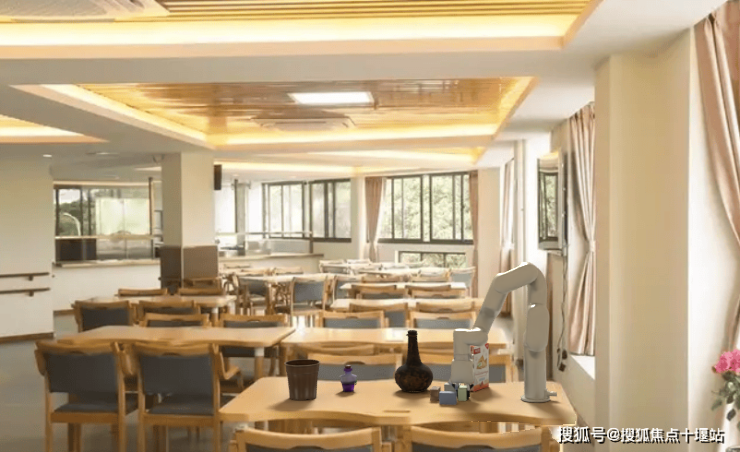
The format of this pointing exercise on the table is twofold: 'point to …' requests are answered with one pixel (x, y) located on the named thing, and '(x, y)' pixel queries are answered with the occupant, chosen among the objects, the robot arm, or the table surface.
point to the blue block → (448, 397)
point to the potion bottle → (348, 379)
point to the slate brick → (449, 387)
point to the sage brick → (462, 393)
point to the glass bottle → (413, 368)
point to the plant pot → (302, 378)
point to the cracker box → (480, 366)
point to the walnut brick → (435, 393)
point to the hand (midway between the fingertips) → (463, 398)
